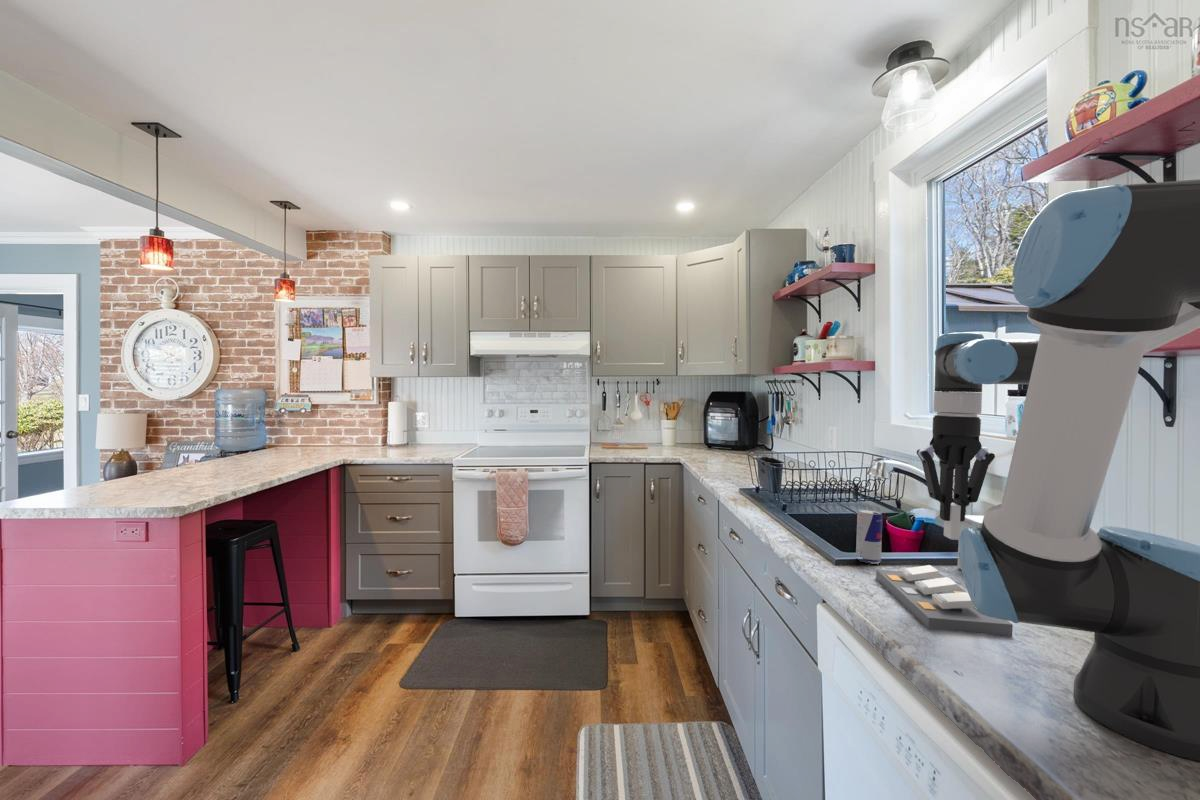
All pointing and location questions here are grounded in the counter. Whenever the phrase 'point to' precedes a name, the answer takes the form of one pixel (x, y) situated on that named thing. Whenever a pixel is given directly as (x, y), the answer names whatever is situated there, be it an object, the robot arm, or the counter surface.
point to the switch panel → (935, 615)
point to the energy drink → (869, 535)
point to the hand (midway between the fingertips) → (951, 537)
